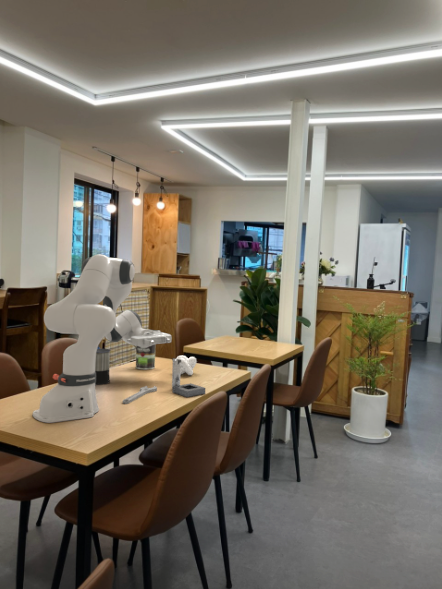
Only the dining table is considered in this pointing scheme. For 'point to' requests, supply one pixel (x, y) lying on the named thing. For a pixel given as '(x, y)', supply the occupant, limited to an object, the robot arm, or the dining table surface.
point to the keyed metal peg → (176, 372)
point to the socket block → (188, 390)
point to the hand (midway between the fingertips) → (161, 341)
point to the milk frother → (102, 366)
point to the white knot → (187, 364)
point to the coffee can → (145, 357)
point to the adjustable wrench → (139, 394)
